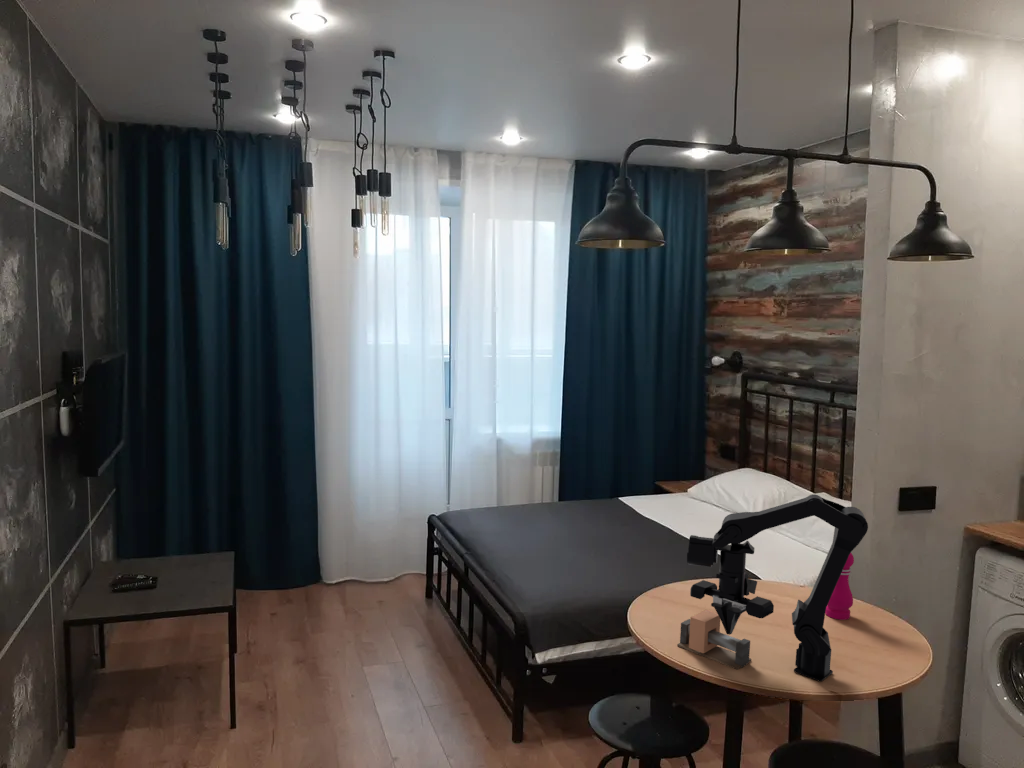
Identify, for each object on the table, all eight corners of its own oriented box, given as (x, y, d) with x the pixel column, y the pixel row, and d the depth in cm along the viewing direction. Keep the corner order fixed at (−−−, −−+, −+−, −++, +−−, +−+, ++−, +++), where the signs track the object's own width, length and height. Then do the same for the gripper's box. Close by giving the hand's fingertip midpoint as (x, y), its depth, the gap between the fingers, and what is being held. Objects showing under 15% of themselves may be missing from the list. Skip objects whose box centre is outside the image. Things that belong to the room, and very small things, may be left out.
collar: (718, 644, 187) (720, 614, 186) (703, 653, 182) (705, 622, 181) (704, 639, 190) (706, 609, 189) (688, 647, 185) (690, 616, 184)
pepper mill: (838, 608, 214) (843, 538, 212) (857, 618, 207) (863, 546, 205) (817, 611, 212) (822, 540, 210) (836, 622, 205) (842, 549, 203)
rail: (751, 661, 181) (753, 639, 180) (738, 669, 176) (739, 647, 176) (690, 638, 192) (692, 617, 192) (676, 645, 188) (677, 624, 187)
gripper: (786, 571, 178) (783, 636, 180) (715, 552, 192) (712, 613, 193) (763, 583, 171) (759, 650, 172) (690, 562, 184) (687, 625, 185)
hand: (729, 633), depth 181 cm, fingers closed
